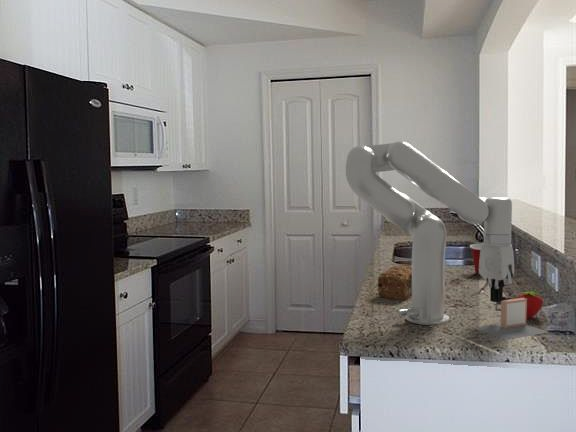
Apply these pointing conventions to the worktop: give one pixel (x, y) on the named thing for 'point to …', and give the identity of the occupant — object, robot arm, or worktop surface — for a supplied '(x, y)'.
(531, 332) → the mat
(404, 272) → the bread
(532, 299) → the strawberry
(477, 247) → the plastic cup
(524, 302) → the tile
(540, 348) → the worktop surface
